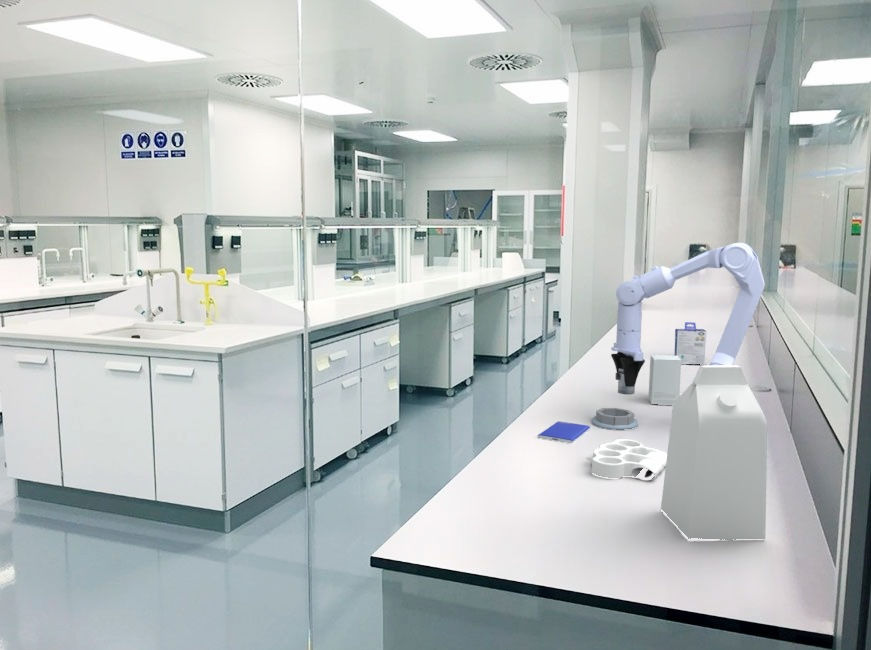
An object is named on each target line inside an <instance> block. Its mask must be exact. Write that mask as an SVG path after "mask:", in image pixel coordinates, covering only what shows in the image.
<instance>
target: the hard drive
mask: <svg viewBox="0 0 871 650" xmlns="http://www.w3.org/2000/svg"><path fill="white" fill-rule="evenodd" d="M590 430H591V426H590V425H587V424H580V423H573V422H568V421H567V422H566V421H556V422H555V423H553V424H552V425H550V426H549V427H548V428H546V429H545V430H543V431H542V432H540V433H538V434H537V439H540V438H542V439H541V440H546V439H549V440H548V441H552V440H554V441H553V442H558V441H560V443H564V442H567V443H566V444H570V443H573V444H574V443H576V442H577V441H578V440H579V439H581V438H582V437H583V436H584V435H586V434H587V433H589V431H590ZM586 432H587V433H586ZM585 433H586V434H585ZM580 437H581V438H580ZM576 440H577V441H576ZM575 441H576V442H575Z"/></svg>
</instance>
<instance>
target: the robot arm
mask: <svg viewBox="0 0 871 650" xmlns="http://www.w3.org/2000/svg"><path fill="white" fill-rule="evenodd" d="M707 268H711V269H712V268H713V269H721V268H724V269H725V270H727V271H728V272H729V273H730V274H731V275H732V276H733V277H734V279H735V280H736V282H737V284H738V286H739V287H740V288H739V289H740V290H739V292H738V295H737V297H736V300H735V302H734V305H733V307H732V310H731V313H730V314H729V318H728V320H727V322H726V324H725V327H724V330H723V333H722V335H721V338H720V341H719V343H718V345H717V347H716V350H715V353H714V355H713V356H712V359H711V361H710V363H709V365H708V366H721V365H734V364H735V361H736V357H737V356H738V353H739V351H740V348H741V346H742V343H743V341H744V338H745V336H746V334H747V332H748V328H749V325H750V323H751V321H752V318H753V317H754V313H755V312H756V308H757V306H758V303H759V302H760V299H761V297H762V294H763V291H764V289H765V285H766V283H765V280H764V275H763V272H762V268H761V264H760V260H759V257H758V255H757V254H756V252H755V251H754V250H753V248H752V247H751V246H750V245H749V244H747V243H746V242H735V243H730V244H728V245H727V246H721V247H717V248H714V249H711V250H707V251H703V253H700V254H697V255H696V256H694V257H692V258H689V259H688V260H686V261H683V262H681V263H679V264H677V265H675V266H673V267H670V268H669V267H667V266H663V265H661V266H657V265H655V266H652V267H651V270H650V271H647V272H645V273H643V274H641V275H639V276H638V275H634V276H632V280H625V281H624V282H622V283H621V284H619V285H618V287H617V289H616V292H615V293H616V294H615V295H616V299H617V301H618V303H617V304H618V305H617V308H618V309H617V315H616V316H617V318H616V319H617V320H616V321H617V322H616V342H613V346H612V347H611V348H610V349H611V351H612V352H616V353H611V354H610V355H611V356H610V357H611V358H612V361H613V363H614V366H615V370H616V373H619V372H618V370H619V368H621V367H623V371H624V381H625V386H626V387H634V386H635V387H636V382H637V379H638V376H639V374H640V370H641V369H642V367H643V366H644V364H645V361H646V360H645V359H644V352H643V350H642V348H641V341H642V340H641V337H642V336H641V335H642V321H643V319H642V315H643V313H642V303H643V302H642V301H643V300H644V299H650V298H652V297H654V296H656V295H659V294H661V293H664V292H667V291H668V290H670V289H673V287H674V284H675V282H676V281H677V280H679V279H682V278H685V277H687V276H689V275H691V274H695V273H696V272H700V271H702V270H704V269H707Z"/></svg>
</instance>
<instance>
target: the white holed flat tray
mask: <svg viewBox="0 0 871 650" xmlns="http://www.w3.org/2000/svg"><path fill="white" fill-rule="evenodd" d="M585 459H586V460H588V461H589V462H591V474H592V473H594V474H596V475H598V476H602V477H608V478H620V477H623V476H634V477H636V476H637V475H638V474H639V473H640V471H641V470H642V469H643V468H646V469H648V470H649V471H651V473H654V475H655V476H654V477H653V478H652V479H651V481H653V480H655V479H657V477H658V475H659V474H660V473H661V472H662V471H664V469H665V468H666V460H667V452H665V451H663V450H660V449H657V448H653V447H647V446H645V445H643V444H642V442H639V441H637V440H635V439H628V438H627V439H626V438H620V439H619V438H617V439H614V441H613V442H612V441H611V442H608V443H606V442H605V443H603V444H599V448H595V449H594V450H593V453H592V455H589V456H587V457H585Z"/></svg>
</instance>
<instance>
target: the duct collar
mask: <svg viewBox="0 0 871 650" xmlns="http://www.w3.org/2000/svg"><path fill="white" fill-rule="evenodd" d="M591 425H593V426H595V427H597V428H600V427H601V428H600V429H604V428H606V430H610V429H616V430H615V431H625V430H624V429H631V430H633V429H632V428H635V427H637V426H638V427H639V421H638V420H637V419H636V418H635V413H634V412H632V411H631V410H629V409H623V408H618V407H602V408H599V409H598V410H596V411H595V416H593V417H592V418H591ZM638 427H637V428H638ZM635 429H636V428H635Z"/></svg>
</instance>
